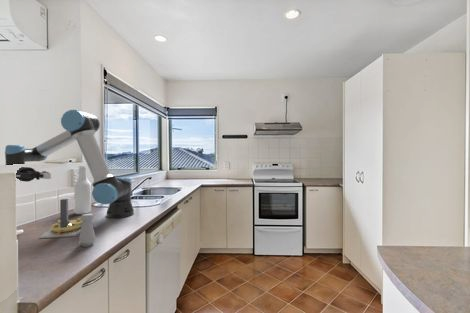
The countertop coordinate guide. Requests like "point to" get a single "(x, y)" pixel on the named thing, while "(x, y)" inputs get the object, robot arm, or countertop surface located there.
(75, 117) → the robot arm
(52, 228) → the grey and tan stand
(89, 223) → the salt shaker
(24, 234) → the countertop surface
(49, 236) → the flange plate
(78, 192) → the alcohol
